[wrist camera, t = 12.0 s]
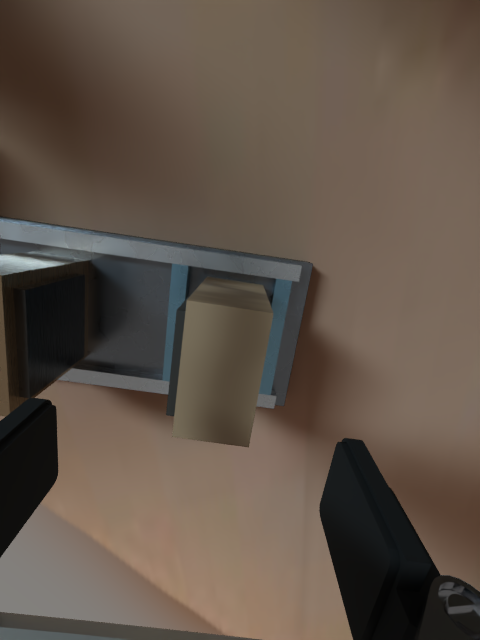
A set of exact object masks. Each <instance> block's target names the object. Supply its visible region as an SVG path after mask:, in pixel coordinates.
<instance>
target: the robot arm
mask: <svg viewBox="0 0 480 640" xmlns="http://www.w3.org/2000/svg"><path fill="white" fill-rule="evenodd" d="M57 476H58V449H57V416H56V407H55V406H54V405H52V403H51V401H50V400H45V399H38V398H29V399H27V400H26V401H25V402H23V403H22V404H21V405H20V406H18V407H17V408H16V409H15V410H14V411H12V412H11V413H10V414H9V415H7V416H6V417H5V418H4V419H2V420H1V421H0V557H1V556H2V555H3V553H4V552H5V550H6V549H7V548H8V546H9V545H10V543H11V542H12V541H13V539H14V538H15V537H16V535H17V534H18V533H19V531H20V530H21V529H22V527H23V526H24V524H25V523H26V522H27V520H28V519H29V518H30V516H31V515H32V513H33V512H34V510H35V509H36V508H37V507H38V505H39V504H40V503H41V501H42V500H43V499H44V497H45V496H46V494H47V493H48V492H49V490H50V489H51V488H52V486H53V485H54V483H55V481H56V479H57ZM320 517H321V521H322V525H323V529H324V532H325V536H326V540H327V543H328V547H329V551H330V555H331V558H332V562H333V566H334V570H335V573H336V577H337V581H338V585H339V588H340V592H341V596H342V600H343V603H344V607H345V611H346V615H347V618H348V622H349V626H350V629H351V633H352V637H353V640H480V592H479V591H478V590H476V589H475V588H474V587H472V586H471V585H470V584H468V583H466V582H464V581H462V580H461V579H459V578H455V577H452V576H449V575H440V573H439V571H438V570H437V568H436V566H435V564H434V563H433V561H432V559H431V557H430V556H429V554H428V552H427V550H426V549H425V547H424V545H423V543H422V542H421V540H420V538H419V536H418V534H417V533H416V531H415V529H414V527H413V526H412V524H411V522H410V520H409V519H408V517H407V515H406V513H405V512H404V510H403V508H402V506H401V504H400V503H399V501H398V499H397V497H396V496H395V494H394V492H393V491H392V490H391V488H389V487H388V485H387V483H386V481H385V480H384V478H383V476H382V474H381V472H380V471H379V469H378V467H377V465H376V463H375V462H374V460H373V458H372V456H371V455H370V453H369V451H368V449H367V447H366V446H365V444H364V442H363V441H362V440H356V439H348V438H344V439H343V440H342V442H338V443H337V445H336V448H335V451H334V455H333V459H332V462H331V466H330V470H329V473H328V477H327V480H326V484H325V488H324V491H323V495H322V498H321V502H320ZM0 640H260V639H252V638H243V637H234V636H225V635H216V634H207V633H198V632H188V631H179V630H170V629H160V628H151V627H142V626H132V625H122V624H113V623H103V622H94V621H85V620H74V619H65V618H54V617H44V616H33V615H24V614H14V613H4V612H0Z"/></svg>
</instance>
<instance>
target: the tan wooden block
mask: <svg viewBox="0 0 480 640" xmlns="http://www.w3.org/2000/svg"><path fill="white" fill-rule="evenodd" d="M273 314H274V313H273V310H272V308H271V305H270V302H269V300H268V297H267V294H266V292H265V289H264V286H263V285H261V284H254V283H247V282H241V281H234V280H228V279H221V278H215V277H208V276H207V277H206V278H205V280H204V281H203V282H202V283H201V284H200V285H199V287H198V288H197V289H195V290H194V291H193V292H192V293H191V294H190V295H189V297H188V298H187V299H186V300H185V301H184V302H183V303H182V305H181V306H180V307H179V308H178V309H177V311H176V321H175V331H174V341H173V351H172V362H171V372H170V382H169V392H168V402H167V412H166V415H169V416H174V424H173V433H172V437H177V438H184V439H192V440H199V441H206V442H214V443H221V444H228V445H235V446H243V447H249V443H250V437H251V432H252V427H253V421H254V416H255V411H256V405H257V400H258V394H259V389H260V384H261V378H262V373H263V368H264V362H265V357H266V351H267V346H268V341H269V335H270V330H271V325H272V319H273Z"/></svg>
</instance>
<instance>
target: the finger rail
mask: <svg viewBox="0 0 480 640" xmlns="http://www.w3.org/2000/svg"><path fill="white" fill-rule="evenodd" d="M312 266H313V264H312V263H310V262H306V261H299V260H292V259H285V258H279V257H272V256H265V255H258V254H251V253H245V252H238V251H231V250H224V249H218V248H211V247H204V246H197V245H190V244H184V243H177V242H170V241H163V240H157V239H150V238H143V237H136V236H129V235H123V234H116V233H109V232H102V231H96V230H89V229H82V228H75V227H68V226H62V225H55V224H48V223H41V222H35V221H28V220H21V219H14V218H7V217H1V216H0V416H7V415H9V414H10V413H11V412H12V411H14V410H15V409H16V408H17V407H18V406H20V405H21V404H22V403H23V402H25V401H26V400H27V399H29V398H35V397H36V396H37V395H39V394H40V393H41V392H42V391H44V390H45V389H46V388H47V387H49V386H50V385H51V384H53V383H54V382H55V381H56V380H64V381H71V382H78V383H86V384H93V385H101V386H108V387H116V388H123V389H131V390H138V391H145V392H153V393H160V394H168V392H169V382H170V372H171V362H172V351H173V341H174V331H175V321H176V311H177V309H178V308H179V307H180V306H181V305H182V303H183V302H184V301H185V300H186V299H187V298H188V297H189V295H190V294H191V293H192V292H193V291H194V290H195V289H197V288H198V287H199V285H200V284H201V283H202V282H203V281H204V280H205V278H206V277H207V276H208V277H215V278H221V279H228V280H234V281H241V282H247V283H254V284H261V285H263V286H264V289H265V292H266V294H267V297H268V300H269V302H270V305H271V308H272V310H273V313H274V314H273V319H272V325H271V330H270V335H269V341H268V346H267V351H266V357H265V362H264V368H263V373H262V378H261V384H260V389H259V394H258V400H257V405H256V406H257V407H265V408H272V409H274V406H275V405H280V406H284V403H285V398H286V393H287V388H288V384H289V379H290V374H291V369H292V364H293V359H294V354H295V349H296V344H297V340H298V335H299V330H300V325H301V320H302V315H303V310H304V305H305V300H306V295H307V291H308V286H309V281H310V276H311V271H312Z"/></svg>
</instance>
